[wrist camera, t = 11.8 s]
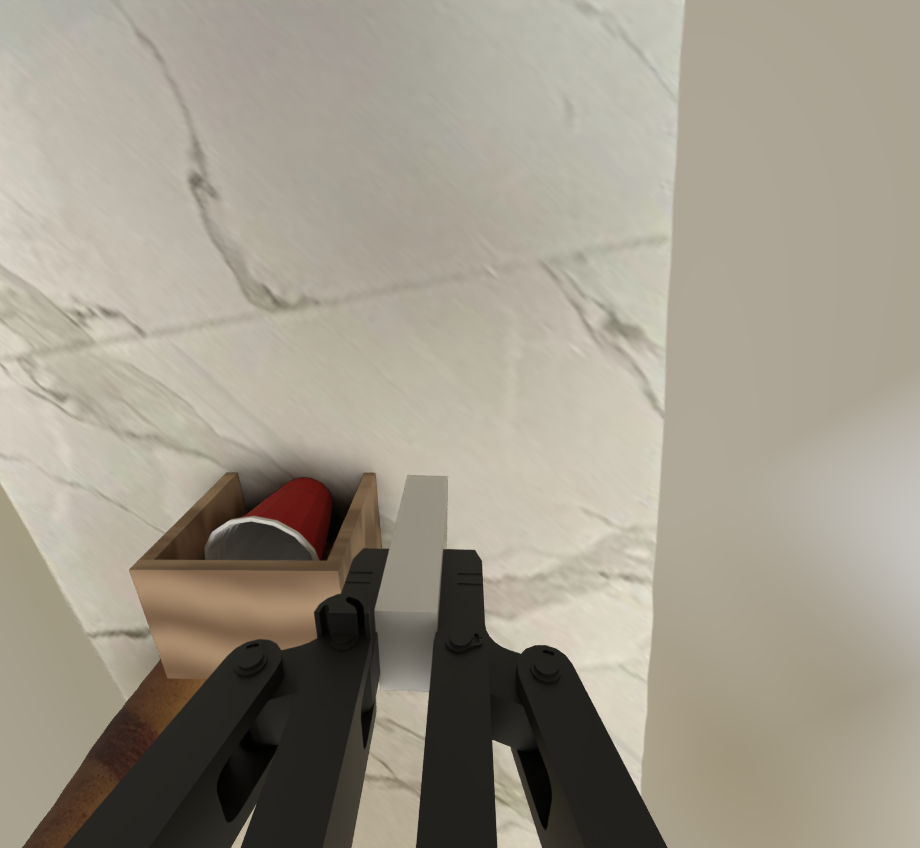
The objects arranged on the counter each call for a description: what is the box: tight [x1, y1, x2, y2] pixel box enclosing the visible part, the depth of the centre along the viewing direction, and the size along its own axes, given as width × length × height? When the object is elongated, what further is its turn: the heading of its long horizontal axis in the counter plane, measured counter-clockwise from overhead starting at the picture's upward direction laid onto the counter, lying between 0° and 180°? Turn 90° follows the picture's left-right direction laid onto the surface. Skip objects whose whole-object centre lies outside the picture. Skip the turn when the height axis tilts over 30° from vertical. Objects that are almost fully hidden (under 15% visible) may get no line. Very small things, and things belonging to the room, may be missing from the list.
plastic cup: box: [204, 477, 332, 561], centre depth 46 cm, size 11×11×12 cm
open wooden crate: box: [129, 473, 382, 679], centre depth 45 cm, size 12×16×16 cm
